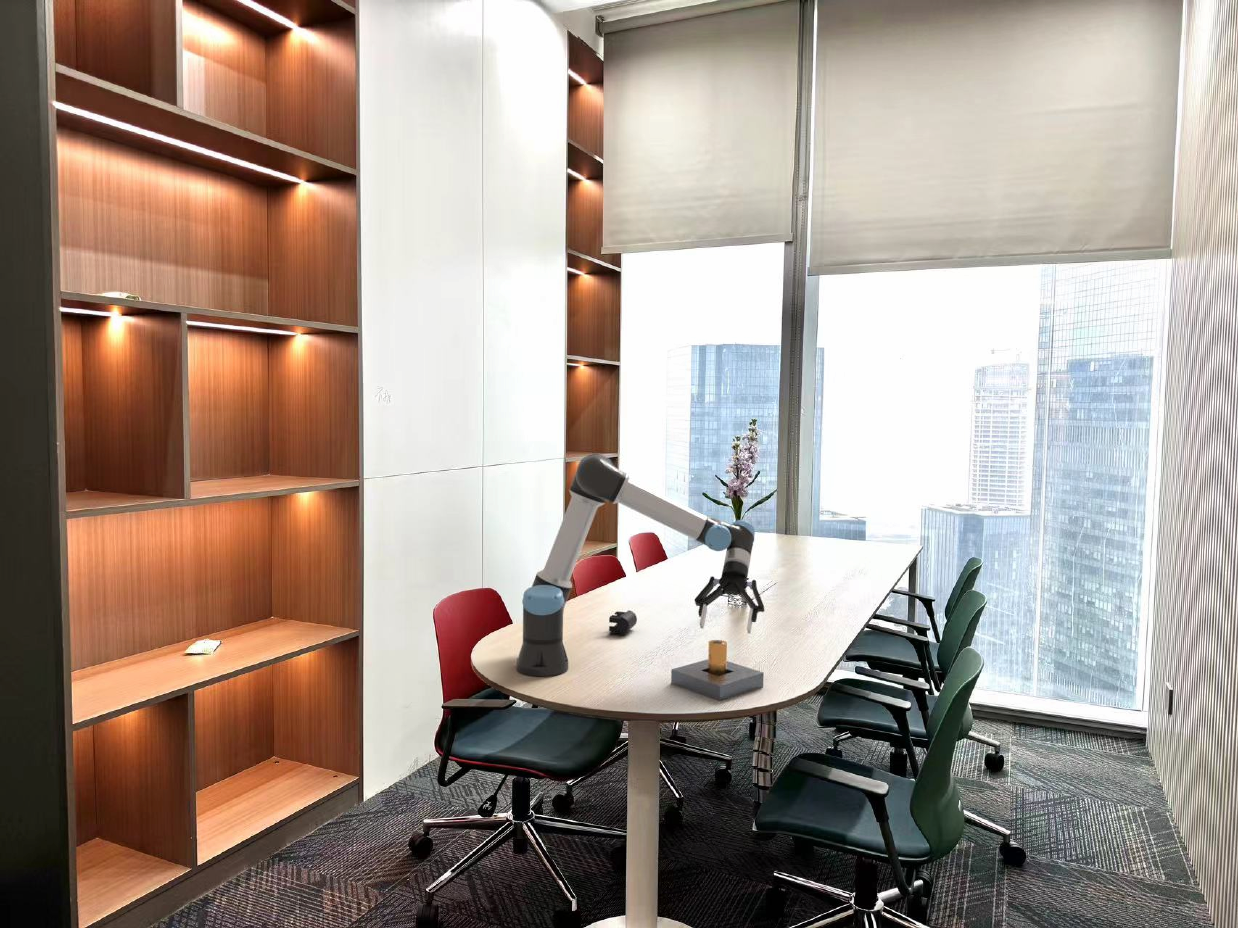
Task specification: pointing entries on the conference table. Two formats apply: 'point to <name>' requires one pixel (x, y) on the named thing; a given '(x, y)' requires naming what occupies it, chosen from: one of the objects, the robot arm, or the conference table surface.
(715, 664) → the bushing
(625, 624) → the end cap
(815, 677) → the conference table surface
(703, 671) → the jig
